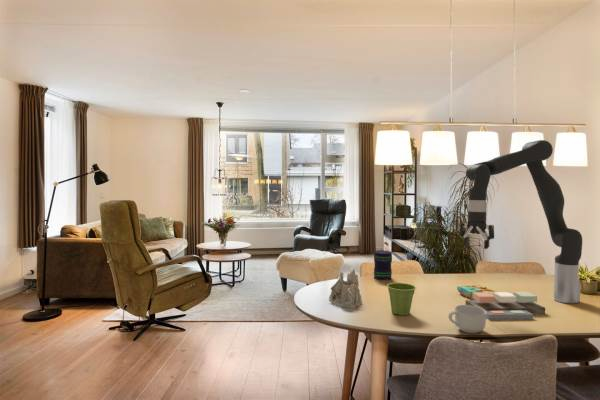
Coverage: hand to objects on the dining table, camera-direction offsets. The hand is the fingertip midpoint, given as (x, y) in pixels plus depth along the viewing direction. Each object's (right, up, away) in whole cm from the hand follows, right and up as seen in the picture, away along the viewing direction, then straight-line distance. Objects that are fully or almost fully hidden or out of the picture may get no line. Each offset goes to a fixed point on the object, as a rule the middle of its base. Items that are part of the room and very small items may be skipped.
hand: (476, 247), depth 182 cm
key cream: (+10, -22, -5) cm, 24 cm away
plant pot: (-35, -26, -10) cm, 45 cm away
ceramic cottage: (-57, -26, +7) cm, 63 cm away
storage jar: (-30, -24, +53) cm, 65 cm away
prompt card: (+6, -26, -15) cm, 31 cm away
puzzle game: (+7, -26, +12) cm, 29 cm away
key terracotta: (+1, -22, -6) cm, 22 cm away
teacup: (-16, -27, -30) cm, 44 cm away
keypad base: (+10, -26, -5) cm, 28 cm away
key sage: (+19, -22, -5) cm, 29 cm away
